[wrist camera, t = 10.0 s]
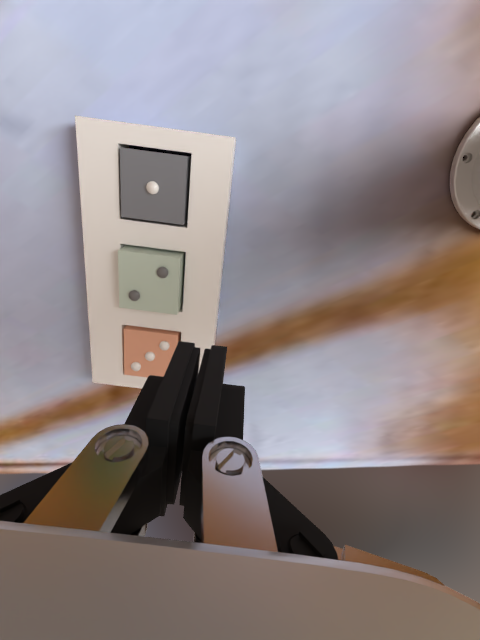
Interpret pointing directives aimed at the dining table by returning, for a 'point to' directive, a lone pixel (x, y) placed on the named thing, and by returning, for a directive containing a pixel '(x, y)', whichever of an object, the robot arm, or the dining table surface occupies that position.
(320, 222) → the dining table surface
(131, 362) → the tile three
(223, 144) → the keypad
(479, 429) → the dining table surface
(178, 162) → the tile one
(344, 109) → the dining table surface
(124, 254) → the tile two
